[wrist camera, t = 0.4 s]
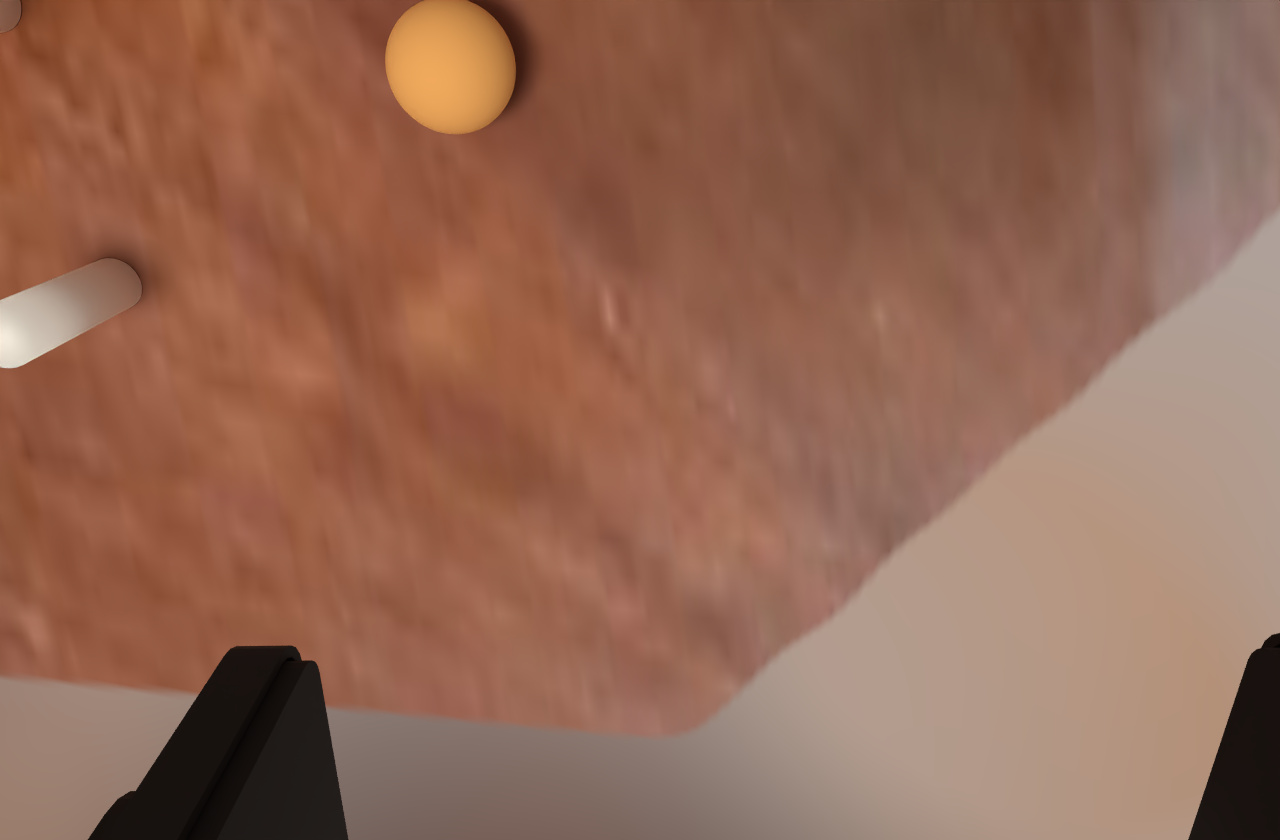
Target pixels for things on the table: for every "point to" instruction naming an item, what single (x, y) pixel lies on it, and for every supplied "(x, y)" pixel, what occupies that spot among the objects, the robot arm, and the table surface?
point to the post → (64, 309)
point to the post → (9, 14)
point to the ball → (450, 65)
